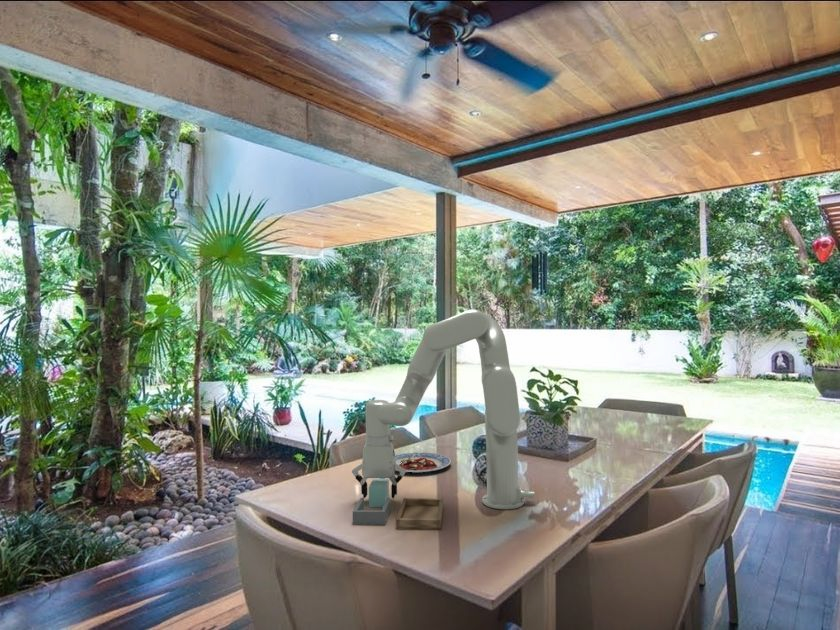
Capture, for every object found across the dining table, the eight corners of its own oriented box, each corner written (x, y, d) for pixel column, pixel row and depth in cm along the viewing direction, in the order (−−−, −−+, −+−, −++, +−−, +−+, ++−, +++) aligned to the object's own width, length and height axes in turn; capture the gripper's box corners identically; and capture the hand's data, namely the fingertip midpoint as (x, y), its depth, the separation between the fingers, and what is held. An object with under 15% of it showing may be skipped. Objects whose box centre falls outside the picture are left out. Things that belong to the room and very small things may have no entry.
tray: (443, 506, 153) (443, 498, 153) (440, 529, 137) (440, 520, 137) (403, 506, 155) (403, 498, 155) (396, 528, 138) (395, 519, 138)
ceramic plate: (462, 471, 189) (462, 463, 189) (396, 481, 180) (396, 472, 180) (434, 455, 213) (434, 447, 213) (375, 462, 204) (375, 455, 204)
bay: (390, 509, 152) (390, 498, 152) (384, 524, 141) (384, 511, 141) (361, 509, 153) (360, 497, 153) (352, 524, 142) (352, 511, 142)
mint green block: (391, 493, 167) (390, 475, 167) (385, 506, 155) (384, 487, 155) (375, 493, 167) (375, 474, 167) (369, 506, 155) (368, 487, 155)
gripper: (407, 437, 162) (408, 492, 162) (353, 437, 164) (354, 492, 164) (404, 443, 155) (405, 501, 154) (348, 443, 156) (349, 500, 156)
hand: (379, 496), depth 159 cm, fingers open, 8 cm apart
